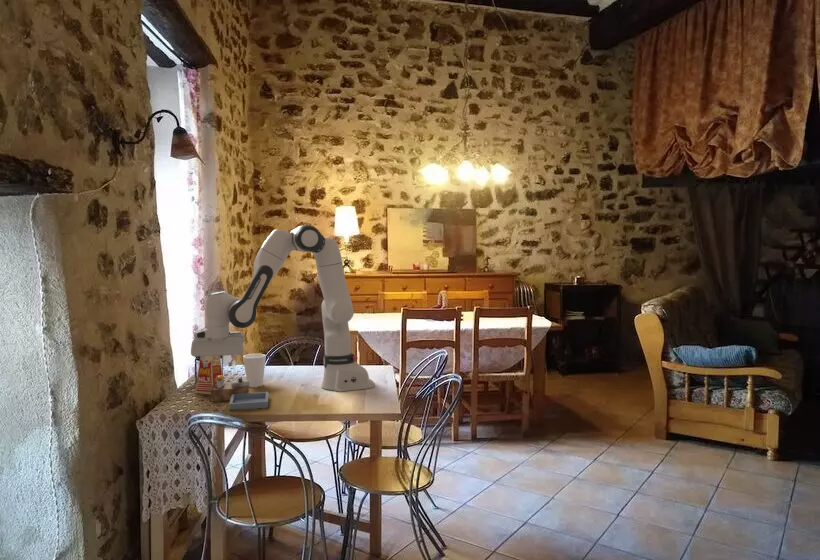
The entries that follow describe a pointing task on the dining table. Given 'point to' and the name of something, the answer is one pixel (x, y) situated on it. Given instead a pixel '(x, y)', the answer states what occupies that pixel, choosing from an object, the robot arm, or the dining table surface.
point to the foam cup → (254, 368)
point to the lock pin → (219, 381)
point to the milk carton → (208, 374)
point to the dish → (249, 401)
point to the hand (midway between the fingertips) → (218, 366)
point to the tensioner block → (229, 389)
